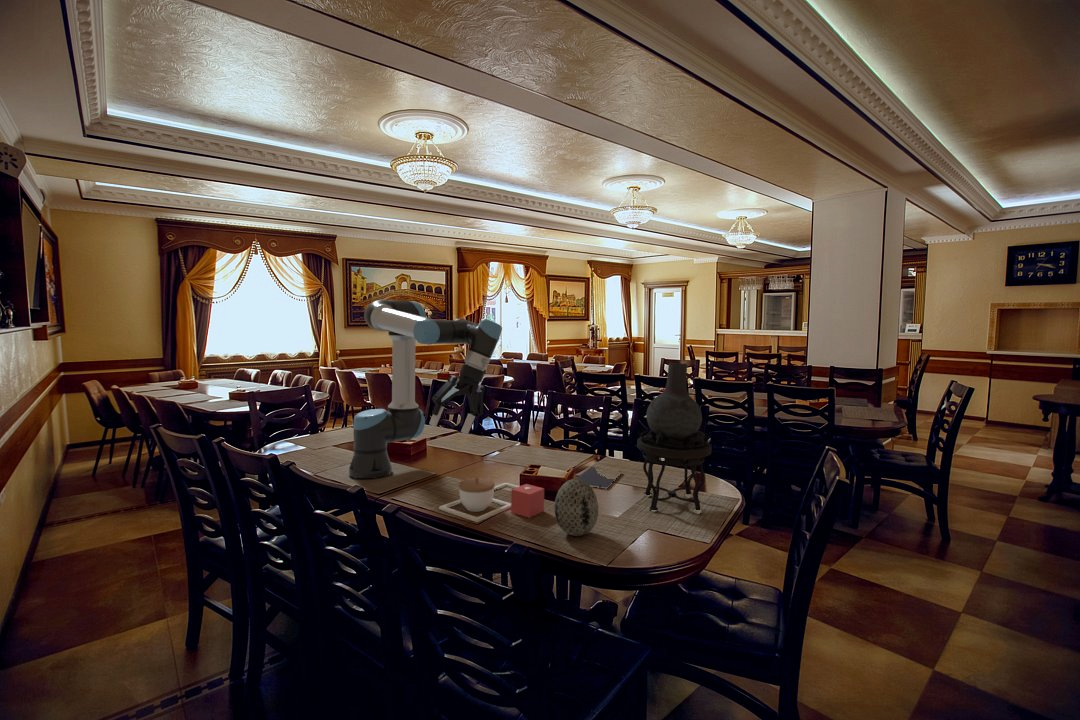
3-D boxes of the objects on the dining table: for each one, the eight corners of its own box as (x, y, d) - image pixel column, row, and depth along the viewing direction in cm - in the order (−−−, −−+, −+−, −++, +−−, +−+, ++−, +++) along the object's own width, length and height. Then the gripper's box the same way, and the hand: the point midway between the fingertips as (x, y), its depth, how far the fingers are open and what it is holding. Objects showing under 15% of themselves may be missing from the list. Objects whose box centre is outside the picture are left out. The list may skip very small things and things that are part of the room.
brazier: (630, 511, 151) (634, 363, 148) (641, 489, 172) (645, 359, 169) (708, 522, 143) (714, 366, 140) (709, 497, 164) (715, 362, 161)
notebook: (591, 470, 195) (572, 485, 176) (591, 466, 195) (572, 481, 176) (622, 475, 190) (606, 491, 170) (622, 471, 190) (606, 486, 170)
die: (525, 506, 154) (526, 483, 153) (543, 511, 149) (544, 487, 149) (511, 512, 148) (511, 488, 148) (529, 518, 144) (529, 493, 143)
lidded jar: (492, 515, 146) (492, 483, 145) (455, 514, 146) (455, 483, 145) (495, 502, 157) (496, 473, 156) (462, 501, 157) (462, 472, 156)
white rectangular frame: (505, 484, 174) (505, 482, 174) (541, 494, 165) (541, 492, 165) (439, 509, 150) (439, 506, 150) (477, 522, 140) (477, 519, 140)
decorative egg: (565, 546, 125) (567, 488, 124) (546, 529, 136) (547, 475, 135) (605, 539, 130) (607, 483, 129) (584, 523, 141) (585, 471, 140)
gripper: (452, 358, 145) (424, 426, 144) (507, 380, 164) (483, 440, 163) (438, 352, 150) (410, 417, 149) (493, 374, 169) (469, 432, 168)
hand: (448, 429), depth 156 cm, fingers open, 13 cm apart
